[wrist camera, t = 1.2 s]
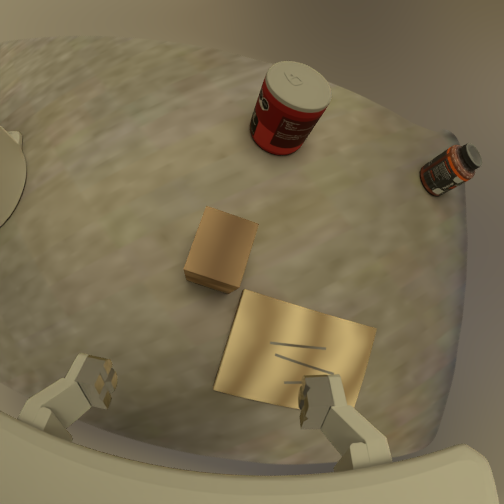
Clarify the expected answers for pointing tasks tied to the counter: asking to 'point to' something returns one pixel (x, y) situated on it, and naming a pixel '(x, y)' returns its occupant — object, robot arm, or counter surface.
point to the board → (289, 351)
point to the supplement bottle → (450, 169)
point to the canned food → (288, 107)
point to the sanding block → (220, 250)
